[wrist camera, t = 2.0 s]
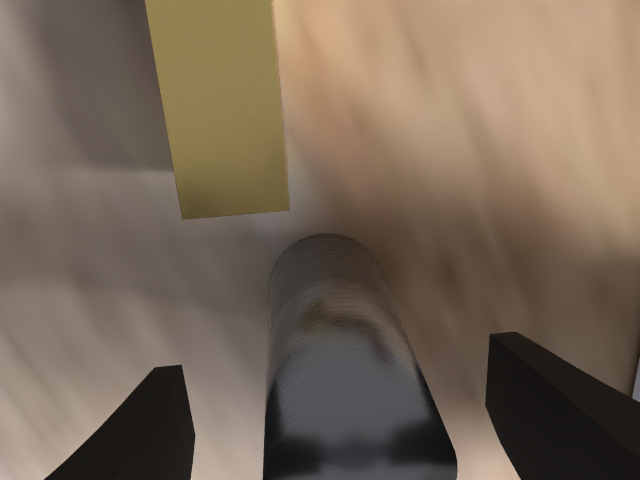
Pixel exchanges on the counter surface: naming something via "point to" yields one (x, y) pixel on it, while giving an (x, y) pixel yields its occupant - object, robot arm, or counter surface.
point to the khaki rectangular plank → (221, 104)
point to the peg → (344, 375)
